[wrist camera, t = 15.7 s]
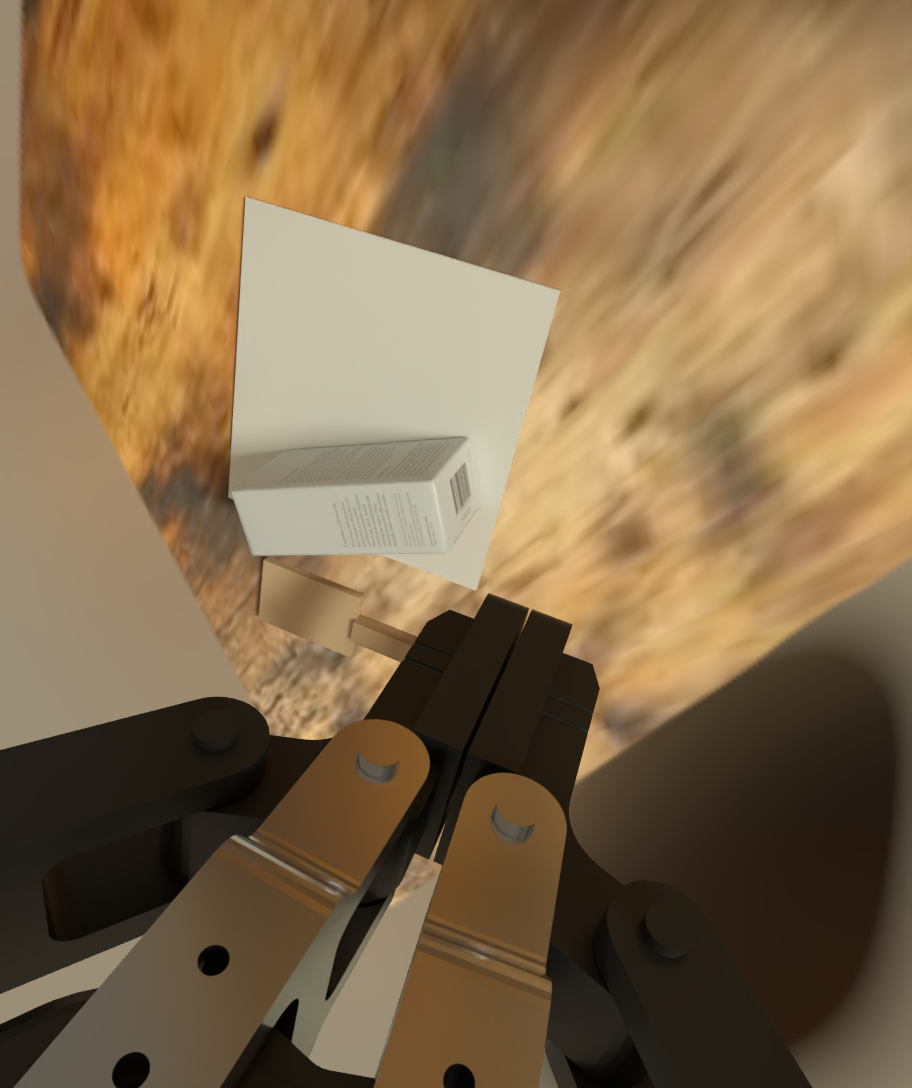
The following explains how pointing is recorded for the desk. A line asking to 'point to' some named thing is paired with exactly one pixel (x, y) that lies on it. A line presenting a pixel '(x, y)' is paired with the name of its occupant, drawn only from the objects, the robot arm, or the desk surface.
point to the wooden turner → (324, 612)
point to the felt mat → (382, 356)
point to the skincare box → (361, 499)
